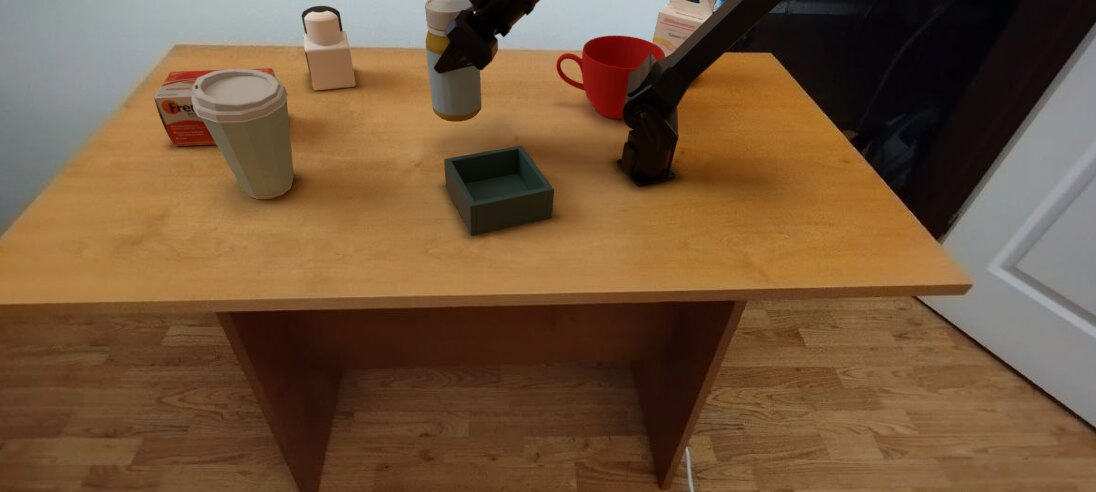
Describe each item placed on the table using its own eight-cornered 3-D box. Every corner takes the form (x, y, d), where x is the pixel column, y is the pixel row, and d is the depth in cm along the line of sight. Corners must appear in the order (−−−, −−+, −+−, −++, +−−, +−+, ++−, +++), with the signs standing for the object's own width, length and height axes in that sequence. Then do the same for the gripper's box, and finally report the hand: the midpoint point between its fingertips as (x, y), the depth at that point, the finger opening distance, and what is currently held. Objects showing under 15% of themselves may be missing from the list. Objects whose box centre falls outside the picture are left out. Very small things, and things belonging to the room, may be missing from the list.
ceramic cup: (555, 87, 103) (559, 30, 96) (650, 95, 102) (661, 38, 95) (551, 123, 93) (555, 63, 86) (656, 131, 92) (669, 71, 86)
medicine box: (172, 147, 84) (150, 96, 78) (186, 120, 90) (166, 70, 84) (280, 142, 86) (266, 92, 81) (287, 115, 92) (275, 67, 86)
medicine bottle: (311, 73, 103) (296, 3, 95) (352, 69, 105) (340, 0, 97) (313, 91, 98) (297, 19, 90) (356, 87, 100) (344, 16, 92)
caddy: (520, 172, 83) (521, 144, 80) (552, 217, 75) (554, 189, 72) (445, 186, 79) (443, 158, 76) (470, 235, 72) (470, 206, 69)
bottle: (488, 118, 82) (484, 9, 71) (440, 127, 80) (429, 16, 70) (473, 96, 87) (467, -10, 76) (427, 104, 85) (415, -3, 74)
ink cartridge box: (644, 76, 108) (660, -8, 98) (654, 67, 111) (671, -15, 101) (688, 88, 104) (709, 3, 94) (697, 78, 108) (718, -5, 98)
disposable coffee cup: (305, 160, 83) (279, 57, 73) (314, 202, 76) (287, 95, 65) (226, 172, 80) (187, 68, 70) (227, 218, 73) (184, 109, 62)
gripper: (496, -96, 73) (421, -11, 82) (458, -58, 59) (372, 39, 68) (554, -24, 77) (476, 50, 86) (530, 27, 64) (441, 108, 73)
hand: (444, 59), depth 78 cm, fingers closed on bottle, 7 cm apart
